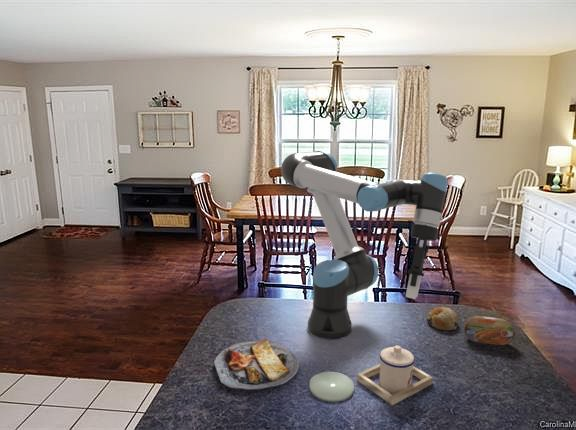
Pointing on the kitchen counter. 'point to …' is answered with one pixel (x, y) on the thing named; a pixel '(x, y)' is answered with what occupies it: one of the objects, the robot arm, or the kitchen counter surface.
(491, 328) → the tin
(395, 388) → the teacup with lid
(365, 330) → the kitchen counter surface
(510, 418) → the kitchen counter surface
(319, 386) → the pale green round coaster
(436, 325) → the bread roll
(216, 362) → the food plate
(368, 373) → the wooden frame
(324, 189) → the robot arm
